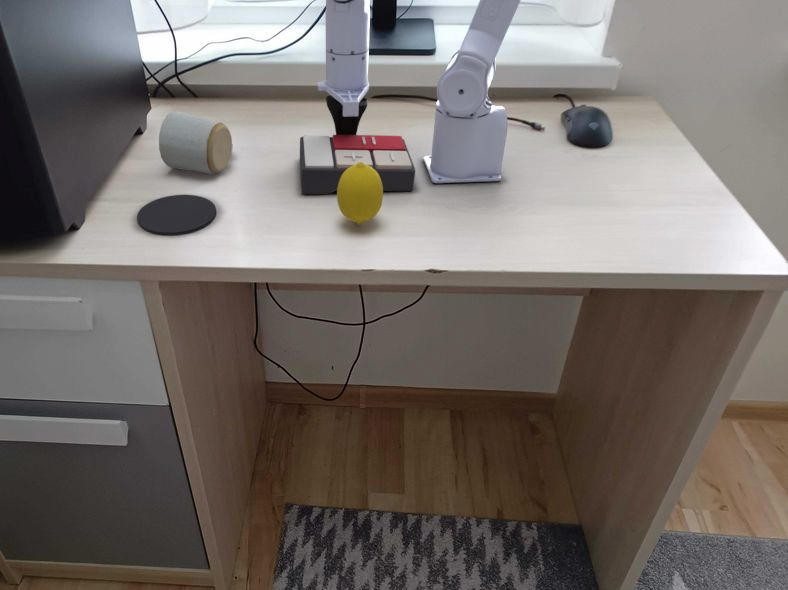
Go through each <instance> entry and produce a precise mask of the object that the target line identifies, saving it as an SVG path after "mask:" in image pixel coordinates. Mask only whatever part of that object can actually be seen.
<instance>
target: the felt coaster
mask: <svg viewBox="0 0 788 590" xmlns="http://www.w3.org/2000/svg"><path fill="white" fill-rule="evenodd" d="M216 216H217V207H216V205H215V203H214V202H213V201H211V200H210V199H208V198H205V197H204V196H199V195H194V194H175V195H174V194H173V195H167V196H163V197H159V198H157V199H154V200H152V201H150V202H147V203H146V204H145V205H143V206H142V207H141V208H140V209H139V210H138V212H137V214H136V222H137V224H138V226H139V227H140V228H141V229H143V231H146V232H148V233H151V234H155V235H160V236H180V235H185V234H190V233H194V232H197V231H199V230H201V229H204V228H205V227H208V225H210V224H211V223H212V222H213V221H214V220H215V218H216Z"/></svg>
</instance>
